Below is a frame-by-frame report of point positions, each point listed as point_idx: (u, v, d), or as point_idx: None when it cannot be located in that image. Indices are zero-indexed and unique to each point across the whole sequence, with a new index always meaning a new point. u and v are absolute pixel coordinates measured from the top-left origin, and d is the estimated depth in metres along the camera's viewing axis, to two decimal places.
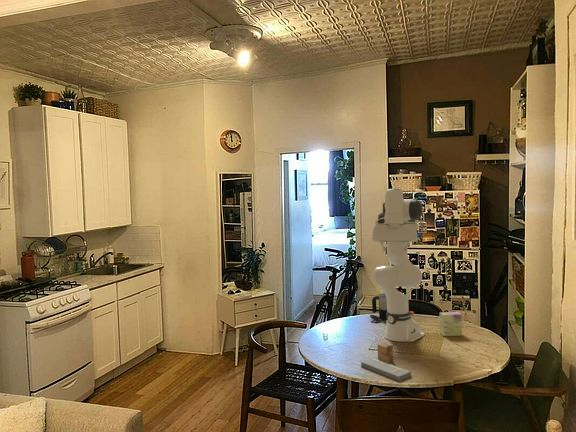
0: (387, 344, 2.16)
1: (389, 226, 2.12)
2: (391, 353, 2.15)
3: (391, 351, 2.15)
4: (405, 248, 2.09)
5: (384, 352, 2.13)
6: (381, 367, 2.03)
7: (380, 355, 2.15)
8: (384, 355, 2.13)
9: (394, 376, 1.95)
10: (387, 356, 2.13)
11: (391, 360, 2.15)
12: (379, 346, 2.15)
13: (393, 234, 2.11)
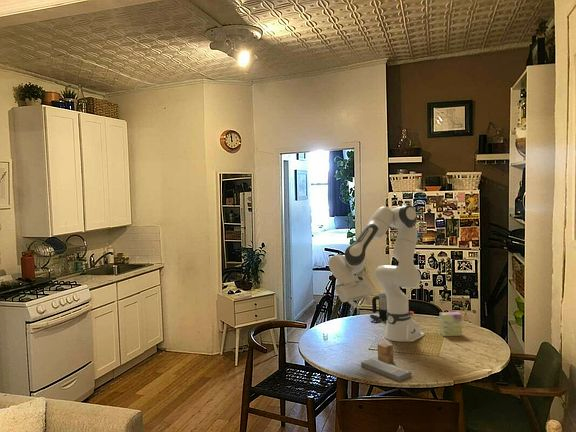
0: (387, 344, 2.16)
1: None
2: (391, 353, 2.15)
3: (391, 351, 2.15)
4: None
5: (384, 352, 2.13)
6: (381, 367, 2.03)
7: (380, 355, 2.15)
8: (384, 355, 2.13)
9: (394, 376, 1.95)
10: (387, 356, 2.13)
11: (391, 360, 2.15)
12: (379, 346, 2.15)
13: None
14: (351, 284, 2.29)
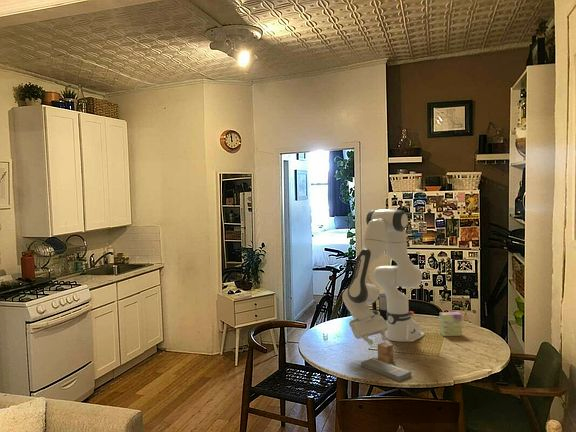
0: (387, 344, 2.16)
1: None
2: (391, 353, 2.15)
3: (391, 351, 2.15)
4: None
5: (384, 352, 2.13)
6: (381, 367, 2.03)
7: (380, 355, 2.15)
8: (384, 355, 2.13)
9: (394, 376, 1.95)
10: (387, 356, 2.13)
11: (391, 360, 2.15)
12: (379, 346, 2.15)
13: None
14: (366, 319, 2.22)
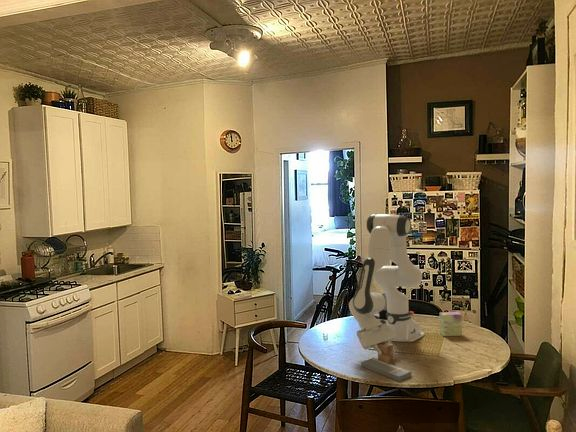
0: (387, 344, 2.16)
1: None
2: (391, 353, 2.15)
3: (391, 351, 2.15)
4: None
5: (384, 352, 2.13)
6: (381, 367, 2.03)
7: (380, 355, 2.15)
8: (384, 355, 2.13)
9: (394, 376, 1.95)
10: (387, 356, 2.13)
11: (391, 360, 2.15)
12: (379, 346, 2.15)
13: None
14: (373, 329, 2.19)
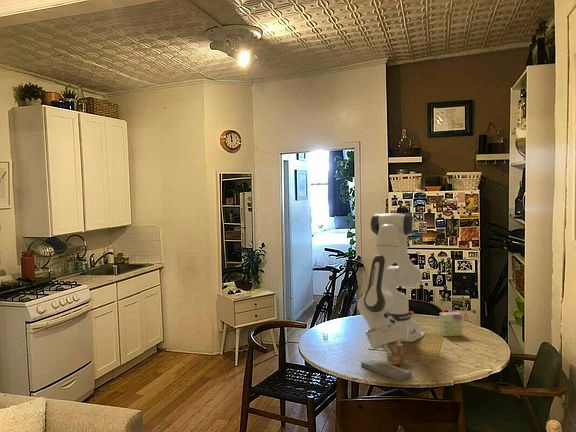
0: (397, 344, 2.10)
1: None
2: (402, 353, 2.10)
3: (401, 351, 2.09)
4: None
5: (394, 352, 2.08)
6: (381, 367, 2.03)
7: (390, 355, 2.10)
8: (394, 355, 2.08)
9: (394, 376, 1.95)
10: (397, 356, 2.08)
11: (401, 360, 2.10)
12: (389, 346, 2.10)
13: None
14: (383, 329, 2.14)
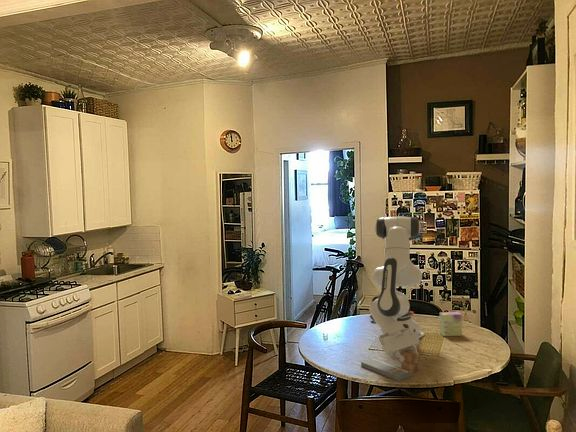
0: (411, 352, 2.04)
1: None
2: (416, 361, 2.04)
3: (415, 359, 2.03)
4: None
5: (408, 360, 2.02)
6: (381, 367, 2.03)
7: (404, 363, 2.04)
8: (408, 363, 2.02)
9: (394, 376, 1.95)
10: (411, 365, 2.02)
11: (415, 369, 2.03)
12: (403, 354, 2.04)
13: None
14: (396, 334, 2.07)
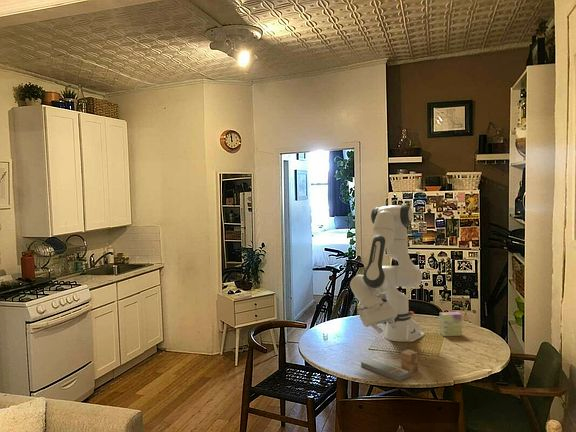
0: (411, 352, 2.04)
1: None
2: (416, 361, 2.04)
3: (415, 359, 2.03)
4: None
5: (408, 360, 2.02)
6: (381, 367, 2.03)
7: (404, 363, 2.04)
8: (408, 363, 2.02)
9: (394, 376, 1.95)
10: (411, 365, 2.02)
11: (415, 369, 2.03)
12: (403, 354, 2.04)
13: None
14: (375, 307, 2.17)
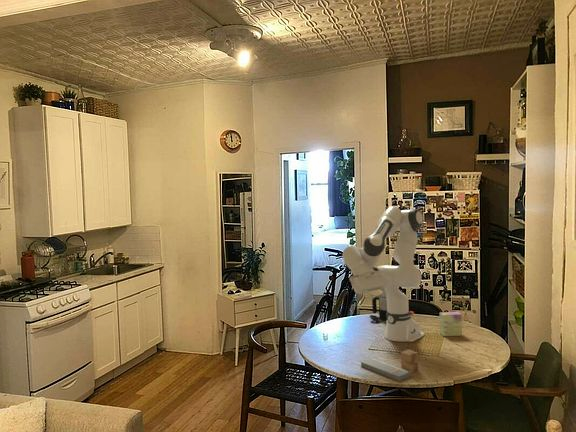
0: (411, 352, 2.04)
1: None
2: (416, 361, 2.04)
3: (415, 359, 2.03)
4: None
5: (408, 360, 2.02)
6: (381, 367, 2.03)
7: (404, 363, 2.04)
8: (408, 363, 2.02)
9: (394, 376, 1.95)
10: (411, 365, 2.02)
11: (415, 369, 2.03)
12: (403, 354, 2.04)
13: None
14: (366, 275, 2.22)
